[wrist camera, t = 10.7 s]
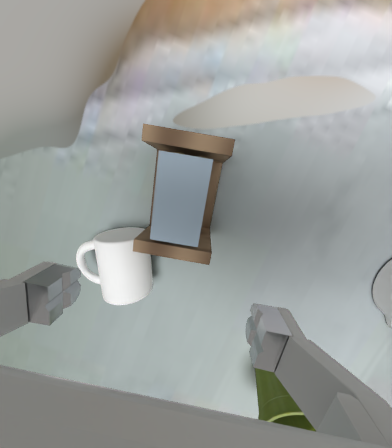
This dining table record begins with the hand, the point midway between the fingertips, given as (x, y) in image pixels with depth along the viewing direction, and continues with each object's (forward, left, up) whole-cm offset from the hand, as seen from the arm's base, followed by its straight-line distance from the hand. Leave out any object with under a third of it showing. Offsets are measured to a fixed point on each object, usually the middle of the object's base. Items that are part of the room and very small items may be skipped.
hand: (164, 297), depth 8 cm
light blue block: (+1, -3, -17) cm, 17 cm away
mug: (+11, +10, -23) cm, 28 cm away
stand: (+1, -3, -23) cm, 23 cm away
